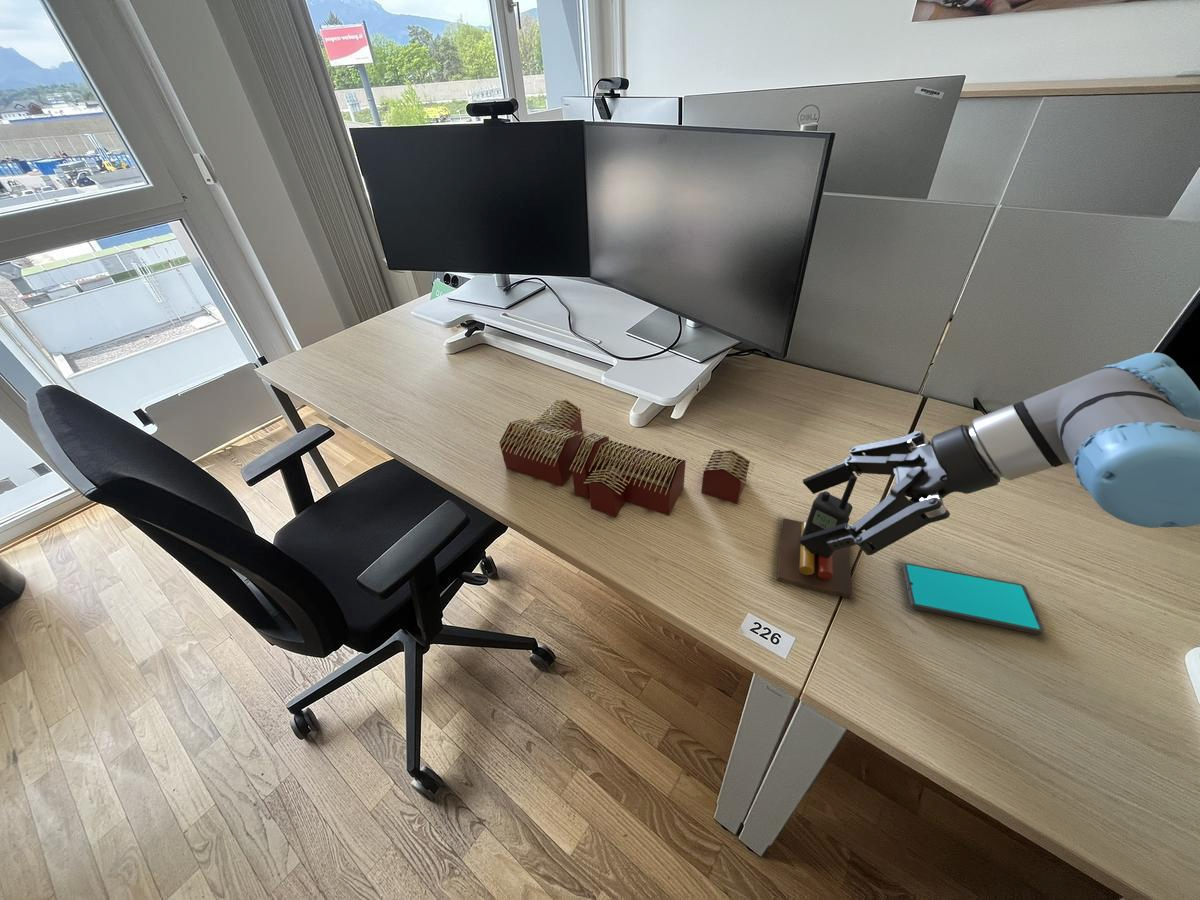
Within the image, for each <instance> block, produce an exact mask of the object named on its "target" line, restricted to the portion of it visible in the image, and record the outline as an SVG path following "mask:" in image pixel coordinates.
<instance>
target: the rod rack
mask: <svg viewBox="0 0 1200 900" xmlns="http://www.w3.org/2000/svg"><path fill="white" fill-rule="evenodd" d="M806 522H807V521H804V522H803V521H799V520H794V519H789V518H784V517H782V520H781V528H780V539H779V552H778V561H777V571H776V581H778V582H780V583H781V582H782V583H786V584H789V585H793V586H797V587H798V586H799V587H802V588H806V589H808V590H809V589H810V590H813V591H817V592H821V593H825V594H829V595H833V596H837V597H842V598H846V599H850V600H851V598H852V596H853V589H852V586H853V585H852V567H851V566H852V564H851V562H852V561H851V546H849V547H845V548H840V549H838V550H834V552H833V553H832V555H831V556H830V557H829V558H826V557H823V556H821V555H819V554H817V553H813V554H811V553H810V552H809V551H808V550H807V549H806V548H805V547H804V546H803V545H801V543H800V537H802V534H803V531H804V528H805V525H806Z"/></svg>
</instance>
